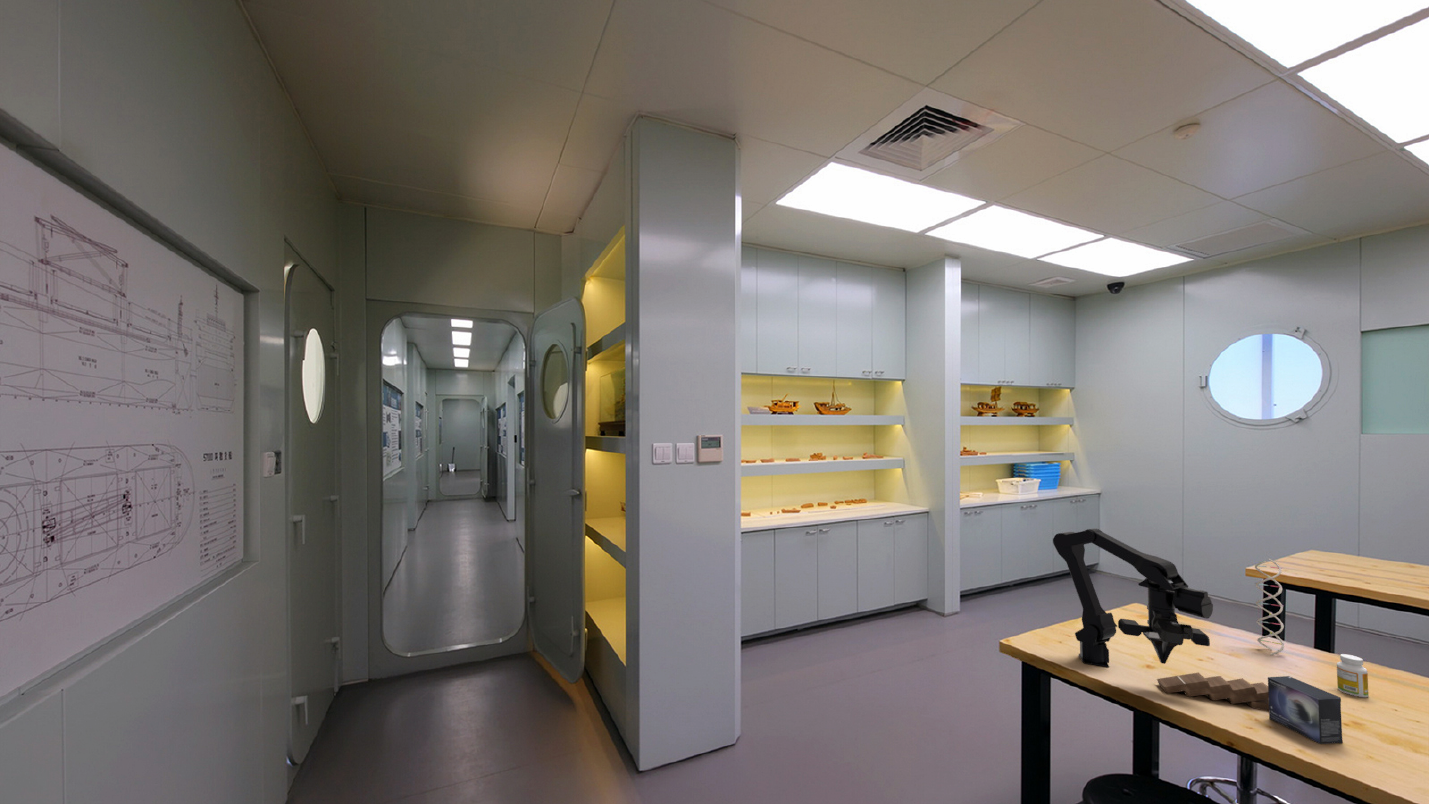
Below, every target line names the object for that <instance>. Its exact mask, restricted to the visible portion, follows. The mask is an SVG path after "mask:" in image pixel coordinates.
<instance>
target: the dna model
mask: <svg viewBox="0 0 1429 804" xmlns="http://www.w3.org/2000/svg"><path fill="white" fill-rule="evenodd" d="M1268 560H1269V561H1270V562H1272V563H1273V564H1274V565H1275V566H1276V567H1275V566H1270V567H1268V566H1267V565H1262V564H1265V563H1267V560H1264V561H1261V562H1257V563H1256V564H1255V565H1254V569H1255V570H1256V571H1258V572H1259V573H1260V574H1263V575H1264V576H1266V577H1267V578H1265V579H1262V580H1259V581H1257V582H1254V584H1255V586H1256V588H1257V590H1260V591H1261V592H1262V593H1265V594H1266V595H1268V596H1267V597H1265V598H1262V599H1258V600H1257V601H1255V605H1256V606H1257V607H1259V608H1260V609H1262V610H1264V611H1265V612H1266V613H1268V614H1269V615H1267V616H1264V617H1261V618H1258V619H1257V620H1256V624H1257V625H1258V626H1261V628H1263V629H1264V630H1266V631H1268V632H1269V634H1268V635H1267V634H1266V635H1265V636H1264V635H1262V636H1261V637H1258V638H1257V639H1256V641H1257V642H1258V643H1259V644H1261V645H1262V646H1264V648H1266V649H1268V650H1270V651H1272V650H1273V649H1272V648H1270V647H1269V646H1267V645H1266V644H1264V642H1267V643H1272V644H1276V645H1280V646H1281V647H1280V648H1279V649H1277V650H1276V651H1274V652H1272V653H1270V654H1269V655H1270V656H1274V655H1277V654H1279V653H1281V652H1283V651H1284V648H1285V643H1284V641H1283V639H1281V638H1280V636H1279V634H1281V632H1283V630H1284V627H1285V625H1284V623H1283V622H1282V621H1281V619H1280V618H1279V617H1277V616H1278V615H1280V614H1281V613H1282V612H1283V610H1284V606H1285V605H1283V604H1282V603H1281V601H1280V600H1278V598H1276V597H1278V596H1279V595H1280V594H1282V592H1283V586H1282V585H1281V583H1279V582H1278V581H1277V580H1276V578H1277V577H1279V576H1280V575H1281V573H1282V569H1283V567H1281V566H1280V565H1279V564H1278V563H1277V561H1275V560H1272V559H1271V558H1269V557H1268ZM1258 567H1260V568H1258ZM1261 568H1270V569H1277V570H1278V572H1277V574H1275V575H1273V576H1271V575H1268V574H1267V573H1265V572H1263V571H1262V570H1261ZM1270 580H1272V581H1273V582H1274V584H1275V585H1270V587H1274V588H1278V590H1277V592H1275V594H1272V593H1269V592H1267V591H1266V590H1264V589H1262V588H1261V587H1260V586H1267V587H1268V586H1269V585H1268V584H1264V582H1268V581H1270ZM1270 599H1273V600H1275V601H1276V602H1277V604H1274V603H1273V604H1271V603H1266V602H1265V601H1268V600H1270ZM1262 605H1271V606H1275V607H1280V609H1279V611H1277V612H1276V613H1273V612H1272V611H1270V610H1267V609H1266V608H1264V607H1263V606H1262ZM1269 618H1275V619H1276V620H1277V621H1278V623H1276V622H1275V623H1274V622H1271V624H1272V625H1276V626H1277V625H1279V626H1280V629H1279V630H1278V631H1275V632H1274V631H1273V630H1270V629H1269V628H1268V627H1266V626H1264V625H1263V624H1270V622H1268V621H1264V620H1267V619H1269ZM1262 623H1263V624H1262ZM1274 636H1275V637H1276V640H1279V642H1280V643H1279V642H1274V641H1269V640H1264V639H1267V638H1271V637H1274Z"/></svg>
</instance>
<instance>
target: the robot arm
mask: <svg viewBox="0 0 1429 804" xmlns="http://www.w3.org/2000/svg"><path fill="white" fill-rule="evenodd" d="M1052 543H1053V546H1054V548H1055V550H1056V552H1057V553H1058V555H1059V556H1060V557H1061V558H1062V559H1063V560H1064V561H1065V563H1066V565H1067V568H1068V571H1069V573H1070V577H1071V579H1072V582H1073V585H1074V588H1075V591H1076V594H1077V596H1078V598H1079V602H1080V604H1081V607H1082V616H1081V623H1082V628H1081V629H1079V630H1077V631H1076V632H1074V636H1075V638H1076V641H1078V642H1079V653H1078V657H1079V658H1080V661H1081V662H1082V663H1083V664H1086V665H1092V666H1100V667H1106V668H1109V667H1110V666H1109V664H1110V650H1109V648H1108V647H1107V643H1109V642H1110V641H1111V638H1113V637H1114V636H1115V635H1116V634H1117V628H1118V629H1119V630H1120V632H1122V634H1124V635H1126V636H1134V637H1139V636H1141V635H1143V636H1144V637H1145V638H1146V639H1147V640H1148V641H1150V642H1151V644H1152V646H1153V648H1154V651H1155V654H1156V655H1157V658H1158V660H1159V661H1160V663H1161V664H1166V663H1167V661H1168V659H1169V658H1170V656H1171V655H1170V654H1171V653H1172V651H1173V650H1174V648H1176V647H1177V646H1183V644H1184V640H1190V641H1191V642H1192V643H1193V644H1195V645H1197V646H1203V647H1210V637H1209V635H1207V634H1206V633H1205V632H1204V631H1202V630H1201V629H1200V628H1195V627H1193V626H1192V625H1189V624H1183V623H1179V621H1178V615H1177V613H1176V610H1178V612H1180V613H1184V614H1188V615H1191V616H1194V617H1195V616H1196V617H1199V618H1202V619H1203V618H1204V619H1205V620H1207V619H1210V618H1211V616H1212V615H1213V610H1214V604H1213V603H1212V600H1211V597H1209V592H1208V591H1205V590H1199V589H1195V588H1190V587H1189V585H1188V584H1187V582H1186V581H1185V580H1184V578H1182V576H1181V575H1180V574H1179V572H1178V569H1177V566H1176V565H1175V564H1174V563H1173V562H1172V561H1170V560H1167V559H1164V558H1162V557H1159V556H1157V555H1156V556H1155V555H1152V554H1147V553H1144V552H1141V551H1139V550H1138V549H1136V548H1134V547H1132V546H1130V545H1129V544H1126V543H1124V542H1122V541H1121V540H1118V539H1117V538H1114V537H1113V536H1111V535H1110V534H1107V533H1105V532H1104V531H1102V530H1101V529H1100V528H1099V529H1098V528H1088V529H1085V530H1083V531H1077V532H1074V531H1068V532H1060V533H1059V532H1058V533H1056V534H1055V535H1054V537H1053V538H1052ZM1088 544H1092V545H1095V546H1097V547H1099V548H1100V549H1103V550H1105V551H1106V552H1108V553H1109V554H1110V555H1113V556H1115V557H1116V558H1119V559H1120V560H1122V561H1124V562H1126V563H1128V564H1129V565H1130V566H1132V567H1133V568H1134V569H1135V570H1136V571H1137V572H1138V573H1139V574H1140V575H1142V576H1143V577H1144V579H1143V581H1140V582H1138V586H1140V587H1143V588H1147V605H1146V609H1147V611H1148V612H1147V615H1148V616H1147V618H1148V619H1147V620H1146V621H1147V625H1145V624H1144V625H1143V624H1140V623H1138V622H1137V621H1136V620H1134V619H1126V618H1119V619H1118V621H1117V624H1118V625H1117V624H1116V621H1115V620H1114V615H1113V613H1112V612H1106V610H1104V609H1103V607H1102V605H1101V603H1100V600H1099V598H1098V594H1097V591H1096V589H1095V587H1094V584H1093V581H1092V578H1091V576H1090V573H1089V571H1088V568H1087V565H1086V563H1085V554H1086V553H1085V551H1086V548H1085V545H1088Z"/></svg>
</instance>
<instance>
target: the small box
mask: <svg viewBox="0 0 1429 804" xmlns="http://www.w3.org/2000/svg"><path fill="white" fill-rule="evenodd" d="M1267 686H1268V694H1269V711H1268V714H1269V716H1268V717H1269V718H1268V719H1270V720H1271V721H1273V722H1276V723H1277V724H1280V725H1282V726H1283V727H1285V728H1288V729H1290V730H1291V731H1293V732H1295V733H1297V734H1300V735H1302V736H1304V737H1306V738H1308V739H1309V740H1312V741H1313V742H1315V743H1318V744H1319V745H1326V744H1343V728H1342V727H1343V725H1342V724H1343V723H1342V707H1341V706H1342V705H1341V704H1342V698H1341V697H1340V696H1338V695H1336V694H1332V693H1331V692H1328V691H1326V690H1323V689H1321V688H1319V687H1316V686H1314V685H1311V684H1309V683H1307V682H1304V681H1301V680H1299V679H1297V678H1294V677H1293V676H1290V675H1286V676H1285V675H1283V676H1268V677H1267Z"/></svg>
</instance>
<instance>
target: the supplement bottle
mask: <svg viewBox="0 0 1429 804" xmlns="http://www.w3.org/2000/svg"><path fill="white" fill-rule="evenodd" d="M1339 659H1340V661H1338V662H1337V663H1336V678H1337V679H1336V680H1337V689H1338V691H1340V692H1342V693H1344V694H1347V695H1349V694H1350V695H1349V696H1353V695H1354V696H1353V697H1357V696H1359V697H1358V698H1368V697H1369V675H1368V669H1367V668H1365V667H1364V666H1363V665H1364V660H1363V658H1362V657H1359V656H1356V655H1352V654H1345V653H1341V654H1340V655H1339Z"/></svg>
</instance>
